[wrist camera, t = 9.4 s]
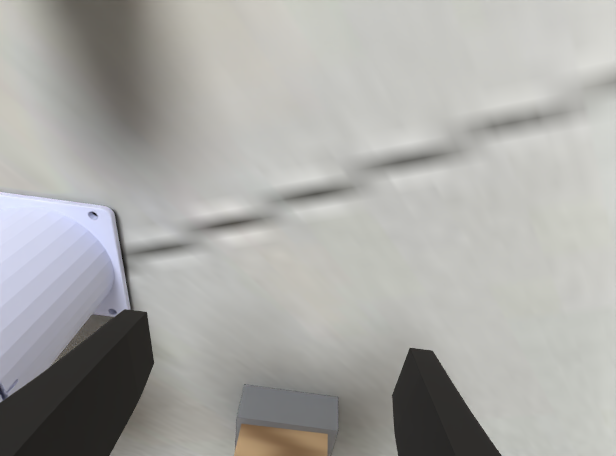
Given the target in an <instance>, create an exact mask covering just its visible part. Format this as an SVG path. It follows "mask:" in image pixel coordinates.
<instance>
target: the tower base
mask: <svg viewBox="0 0 616 456" xmlns="http://www.w3.org/2000/svg"><path fill="white" fill-rule="evenodd" d="M241 424H249V425H257V426H265V427H274V428H282V429H291V430H299V431H308V432H316V433H324V434H328V451H327V456H331V454H332V451H333V447H334V444H335V441H336V437H337V434H338V397H333V396H326V395H319V394H312V393H304V392H297V391H290V390H282V389H275V388H268V387H261V386H253V385H246V384H244V388H243V392H242V397H241V401H240V405H239V409H238V413H237V419H236V439H235V450H236V445H237V441H238V436H239V432H240V427H241Z"/></svg>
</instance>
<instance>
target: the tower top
mask: <svg viewBox="0 0 616 456" xmlns="http://www.w3.org/2000/svg"><path fill="white" fill-rule="evenodd" d="M327 451H328V434H324V433H316V432H308V431H299V430H291V429H282V428H274V427H265V426H257V425H249V424H241V427H240V432H239V436H238V441H237V445H236V450H235V454H234V456H327Z"/></svg>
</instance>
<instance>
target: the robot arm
mask: <svg viewBox="0 0 616 456" xmlns="http://www.w3.org/2000/svg"><path fill="white" fill-rule="evenodd" d="M92 211H93V212H95V213H96V214H97V215H98V216H95V215H94V214H93V212H92ZM92 314H95V315H103V316H111V317H114V318H112V319H111V320H110V321H109V322H107V323H106V324H105V325H103V326H102V327H101V328H100V329H98V330H97V331H96V332H95V333H93V334H92V335H91V336H90V337H88V338H87V339H86V340H84V341H83V342H82V343H81V344H79V345H78V346H77V347H76V348H74V349H73V350H72V351H70V352H69V353H68V354H66V355H65V356H64V357H62V358H61V359H60V360H58V361H57V362H56V363H55V364H53V365H52V363H53V362H54V361H55V360H56V358H57V357H58V356H59V355H60V354H61V352H62V351H63V350H64V349H65V347H66V346H67V345H68V344H69V342H70V341H71V340H72V339H73V337H74V336H75V335H76V334H77V332H78V331H79V330H80V329H81V327H82V326H83V325H84V324H85V322H86V321H87V320H88V319H89V318H90V316H91V315H92ZM153 364H154V360H153V353H152V346H151V339H150V332H149V325H148V318H147V312H141V311H134V310H131V308H130V302H129V296H128V291H127V285H126V279H125V273H124V267H123V261H122V255H121V249H120V243H119V237H118V232H117V226H116V220H115V215H114V212H113V211H112V210H111V209H110V208H109V207H106V206H102V205H94V204H87V203H79V202H72V201H64V200H56V199H49V198H41V197H34V196H26V195H19V194H11V193H4V192H0V456H109V455H110V453H111V451H112V450H113V448H114V446H115V444H116V442H117V440H118V439H119V437H120V435H121V433H122V431H123V429H124V427H125V426H126V424H127V422H128V420H129V418H130V416H131V414H132V413H133V411H134V409H135V407H136V405H137V403H138V401H139V399H140V397H141V394H142V392H143V389H144V387H145V385H146V382H147V380H148V377H149V374H150V372H151V369H152V367H153ZM51 365H52V366H51ZM50 366H51V367H50ZM392 398H393V417H394V430H395V439H396V445H397V451H398V456H501V454H500V453H499V451H498V450H497V449H496V447H495V446H494V444H493V443H492V442H491V440H490V439H489V437H488V436H487V434H486V433H485V431H484V430H483V428H482V427H481V426H480V424H479V423H478V421H477V420H476V418H475V417H474V415H473V414H472V412H471V411H470V409H469V408H468V406H467V405H466V403H465V402H464V400H463V398H462V397H461V395H460V394H459V392H458V391H457V389H456V387H455V386H454V384H453V383H452V381H451V380H450V378H449V376H448V375H447V373H446V371H445V370H444V368H443V367H442V365H441V363H440V362H439V360H438V359H437V357H436V355H435V354H434V352H433V351H430V350H423V349H415V348H410V349H409V352H408V354H407V357H406V360H405V362H404V365H403V368H402V371H401V373H400V376H399V379H398V381H397V384H396V387H395V389H394V392H393V395H392Z"/></svg>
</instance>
